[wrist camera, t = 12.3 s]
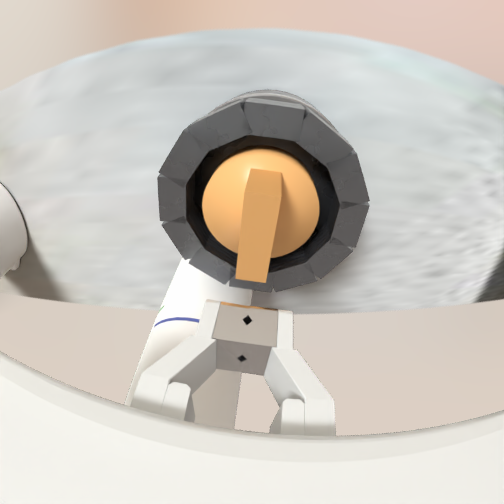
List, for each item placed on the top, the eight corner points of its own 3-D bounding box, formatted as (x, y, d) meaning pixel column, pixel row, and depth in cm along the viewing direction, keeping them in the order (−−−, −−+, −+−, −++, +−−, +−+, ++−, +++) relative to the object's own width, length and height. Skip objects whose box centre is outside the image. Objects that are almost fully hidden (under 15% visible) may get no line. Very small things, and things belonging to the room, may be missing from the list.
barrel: (197, 209, 28) (164, 277, 20) (202, 82, 21) (155, 96, 13) (322, 226, 28) (336, 301, 20) (350, 102, 21) (393, 128, 13)
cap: (212, 139, 16) (188, 168, 12) (325, 155, 16) (341, 190, 12) (208, 233, 20) (189, 282, 16) (304, 246, 20) (308, 299, 16)
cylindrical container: (270, 259, 31) (246, 525, 11) (218, 284, 34) (166, 511, 14) (229, 207, 28) (144, 509, 8) (177, 240, 31) (78, 481, 10)
